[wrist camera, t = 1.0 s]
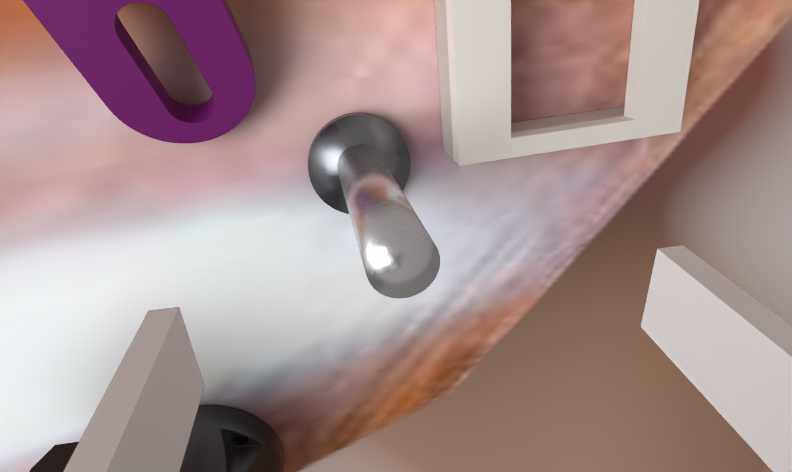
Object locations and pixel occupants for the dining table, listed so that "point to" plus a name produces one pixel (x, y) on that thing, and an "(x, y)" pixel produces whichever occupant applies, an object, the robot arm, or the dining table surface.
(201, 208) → the dining table surface
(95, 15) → the mounting bracket
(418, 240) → the headed peg
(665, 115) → the keyhole plate
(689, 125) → the dining table surface
